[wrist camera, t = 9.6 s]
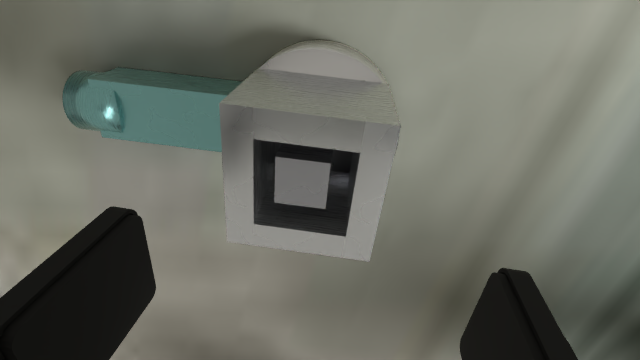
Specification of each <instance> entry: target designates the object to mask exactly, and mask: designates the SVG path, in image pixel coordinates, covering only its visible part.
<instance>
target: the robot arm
mask: <svg viewBox="0 0 640 360" xmlns="http://www.w3.org/2000/svg"><path fill="white" fill-rule="evenodd" d="M155 290H156V284H155V279H154V274H153V269H152V264H151V260H150V255H149V250H148V245H147V240H146V235H145V231H144V226H143V221H142V218H141V217H140V216H138V215H137V212H136V211H135V210H132V209H126V208H120V207H109V208H108V209H106V210H105V211H104V212H103V213H101V214H100V215H99V216H98V217H97V218H95V219H94V220H93V221H92V222H91V223H89V224H88V225H87V226H86V227H85V228H84V229H82V230H81V231H80V232H79V233H78V234H76V235H75V236H74V237H73V238H72V239H70V240H69V241H68V242H67V243H66V244H64V245H63V246H62V247H61V248H60V249H58V250H57V251H56V252H55V253H54V254H52V255H51V256H50V257H49V258H48V259H46V260H45V261H44V262H43V263H42V264H40V265H39V266H38V267H37V268H36V269H34V270H33V271H32V272H31V273H30V274H29V275H27V276H26V277H25V278H24V279H23V280H21V281H20V282H19V283H18V284H17V285H15V286H14V287H13V288H12V289H11V290H9V291H8V292H7V293H6V294H5V295H3V296H2V297H1V298H0V360H109V359H110V358H111V356H112V355H113V354H114V352H115V351H116V349H117V348H118V346H119V345H120V344H121V342H122V341H123V339H124V338H125V337H126V335H127V334H128V332H129V331H130V329H131V328H132V327H133V325H134V324H135V322H136V321H137V320H138V318H139V317H140V315H141V314H142V313H143V311H144V310H145V308H146V307H147V305H148V304H149V303H150V301H151V300H152V298H153V296H154V294H155ZM460 352H461V357H462V360H578V359H577V357H576V355H575V354H574V352H573V350H572V348H571V346H570V344H569V343H568V341H567V340H566V338H565V337H564V336H563V334H562V332H561V330H560V328H559V327H558V325H557V323H556V321H555V319H554V317H553V316H552V314H551V312H550V310H549V308H548V306H547V305H546V303H545V301H544V299H543V297H542V295H541V294H540V292H539V290H538V288H537V286H536V285H535V283H534V281H533V279H532V277H531V276H530V274H529V273H527V272H526V271H519V270H513V269H507V268H501V269H500V270H499V271H498V273H492V274H491V275H490V277H489V279H488V282H487V284H486V286H485V288H484V290H483V292H482V295H481V297H480V299H479V301H478V303H477V305H476V307H475V310H474V312H473V314H472V316H471V318H470V320H469V323H468V325H467V327H466V329H465V331H464V333H463V335H462V338H461V341H460Z"/></svg>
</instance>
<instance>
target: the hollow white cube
mask: <svg viewBox="0 0 640 360" xmlns="http://www.w3.org/2000/svg"><path fill="white" fill-rule="evenodd" d="M219 110H220V127H221V145H222V163H223V180H224V198H225V216H226V233H227V242H232V243H239V244H247V245H254V246H261V247H268V248H275V249H282V250H289V251H296V252H304V253H311V254H318V255H325V256H332V257H339V258H346V259H353V260H361V261H368V262H370V258H371V253H372V249H373V245H374V240H375V236H376V232H377V227H378V223H379V219H380V214H381V210H382V206H383V201H384V197H385V193H386V188H387V184H388V180H389V175H390V171H391V167H392V162H393V158H394V154H395V149H396V145H397V141H398V136H399V132H400V128H401V125H400V121H399V118H398V114H397V111H396V107H395V103H394V100H393V96H392V93H391V89H390V86H389V84H386V83H378V82H370V81H362V80H354V79H345V78H337V77H329V76H321V75H312V74H304V73H296V72H288V71H280V70H271V69H263V68H258V69H257V70H256V71H254V72H253V73H252V74H251V75H250V76H249V77H248V78H247V79H246V80H244V81H243V82H242V83H241V84H240V85H239V86H238V87H237V88H235V89H234V90H233V91H232V92H231V93H230V94H229V95H228V96H227V97H225V98H224V99H223V100H222V101H221V102H220V103H219ZM280 143H287V144H295V145H303V146H311V147H318V148H326V149H334V150H342V151H349V152H352V158H351V165H350V171H349V173H343V172H335V171H331V174H330V181H329V188H328V195H327V202H326V209H320V208H312V207H305V206H297V205H289V204H282V203H274V192H275V156H276V154H277V152H278V150H279V148H280Z"/></svg>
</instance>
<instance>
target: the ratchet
mask: <svg viewBox="0 0 640 360" xmlns="http://www.w3.org/2000/svg"><path fill="white" fill-rule="evenodd" d="M260 68H263V69H271V70H280V71H288V72H296V73H304V74H312V75H321V76H329V77H337V78H345V79H354V80H362V81H370V82H378V83H386V84H388V83H387V81H386V79H385V77H384V76H383V74H382V73H381V71H380V70H379V69H378V67H377V66H376V65H375V64H374V63H373V62H372V61H371V60H370V59H369V58H368V57H366V56H365V55H364V54H362V53H361V52H359V51H358V50H356V49H354V48H352V47H350V46H348V45H345V44H342V43H338V42H334V41H328V40H310V41H303V42H299V43H295V44H293V45H290V46H288V47H286V48H284V49H282V50H281V51H279V52H277V53H276V54H275V55H273V56H272V57H271V58H270V59H268V60H267V61H266V62H265V63H264V64H263V65H262V66H261V67H260ZM241 83H242V82H241V81H233V80H224V79H216V78H207V77H198V76H190V75H181V74H173V73H164V72H156V71H147V70H138V69H130V68H121V67H118V68H115V69H113V70H110V71H107V72H105V73H101V72H92V71H84V70H81V71H77V72H75V73H73V74H72V75H71V76H70V77H69V78H68V80H67V81H66V84H65V86H64V90H63V106H64V110H65V113H66V115H67V117H68V119H69V120H70V121H71V123H72V124H73V125H75V126H76V127H78V128H81V129H87V130H95V131H101V135H102V137H105V138H113V139H121V140H129V141H137V142H145V143H153V144H161V145H169V146H177V147H185V148H193V149H201V150H209V151H217V152H222V145H221V127H220V110H219V103H220V102H221V101H222V100H223V99H224V98H225V97H227V96H228V95H229V94H230V93H231V92H232V91H233V90H234V89H235V88H237V87H238V86H239V85H240V84H241ZM398 139H399V136H398ZM397 145H398V141H397ZM397 145H396V149H397ZM396 149H395V152H396ZM394 156H395V154H394ZM351 158H352V152H349V151H342V150H334V149H326V148H318V147H311V146H303V145H295V144H287V143H280V148H279V150H278V152H277V154H276V156H275V192H274V203H282V204H289V205H297V206H305V207H312V208H320V209H326V202H327V195H328V188H329V181H330V174H331V171H335V172H343V173H349V171H350V165H351Z"/></svg>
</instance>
